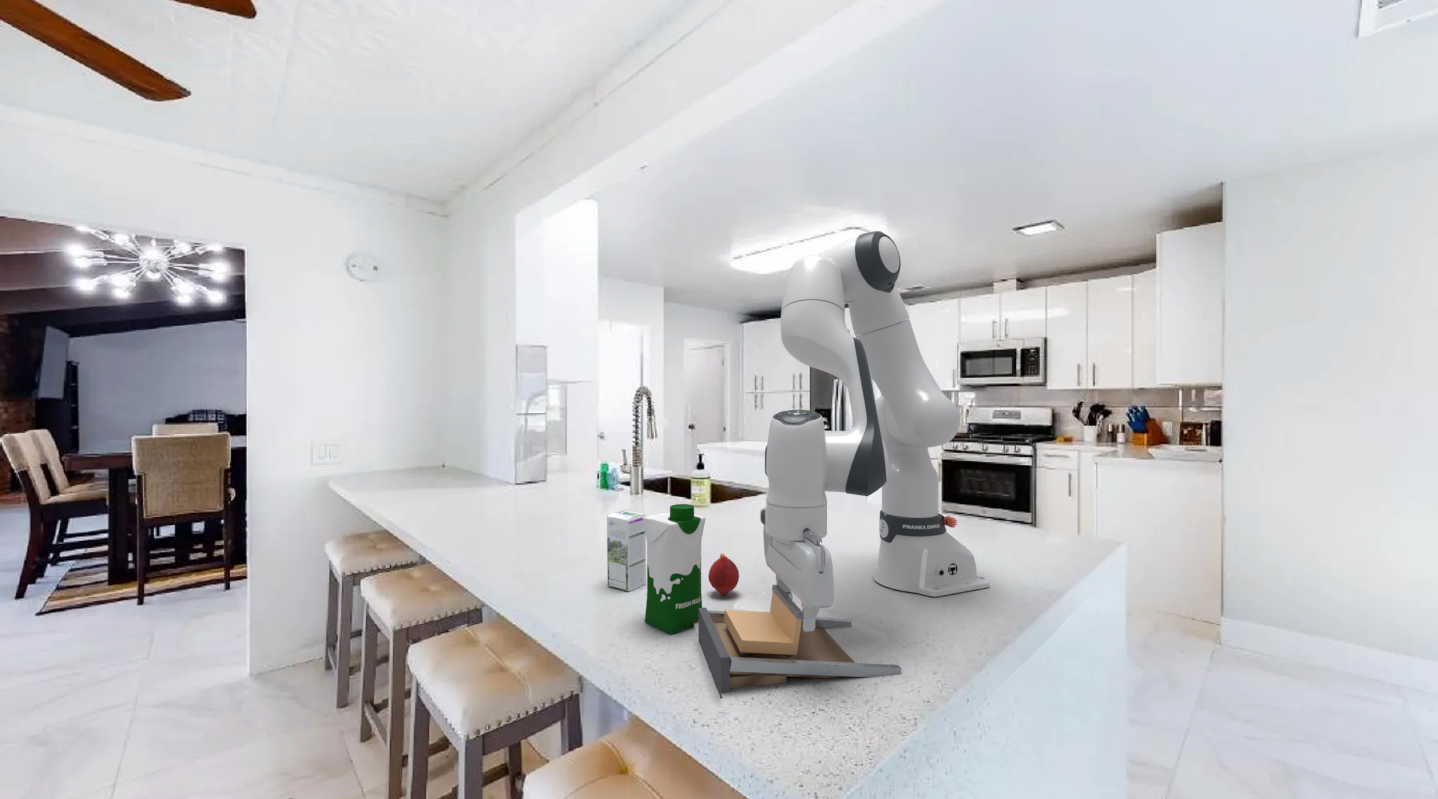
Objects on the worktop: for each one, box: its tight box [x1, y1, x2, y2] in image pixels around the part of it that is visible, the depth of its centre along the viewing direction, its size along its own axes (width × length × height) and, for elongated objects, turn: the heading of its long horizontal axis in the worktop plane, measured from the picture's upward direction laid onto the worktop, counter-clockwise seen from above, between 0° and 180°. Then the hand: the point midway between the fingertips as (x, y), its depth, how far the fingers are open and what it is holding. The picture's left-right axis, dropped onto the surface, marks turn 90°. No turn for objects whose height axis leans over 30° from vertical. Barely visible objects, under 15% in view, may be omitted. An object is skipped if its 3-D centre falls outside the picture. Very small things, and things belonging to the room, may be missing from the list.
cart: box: [723, 584, 803, 658], centre depth 83 cm, size 9×12×7 cm
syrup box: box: [606, 510, 647, 592], centre depth 115 cm, size 6×6×14 cm
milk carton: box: [642, 503, 706, 636], centre depth 97 cm, size 9×9×20 cm
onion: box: [708, 553, 740, 596], centre depth 110 cm, size 6×6×8 cm
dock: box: [697, 607, 902, 699], centre depth 84 cm, size 25×17×6 cm
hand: (795, 616), depth 84 cm, fingers open, 8 cm apart
